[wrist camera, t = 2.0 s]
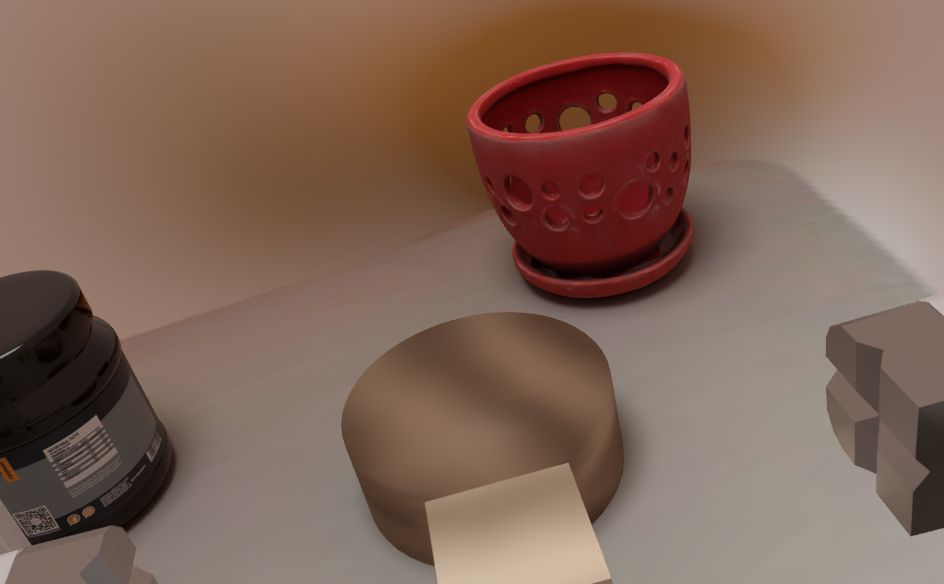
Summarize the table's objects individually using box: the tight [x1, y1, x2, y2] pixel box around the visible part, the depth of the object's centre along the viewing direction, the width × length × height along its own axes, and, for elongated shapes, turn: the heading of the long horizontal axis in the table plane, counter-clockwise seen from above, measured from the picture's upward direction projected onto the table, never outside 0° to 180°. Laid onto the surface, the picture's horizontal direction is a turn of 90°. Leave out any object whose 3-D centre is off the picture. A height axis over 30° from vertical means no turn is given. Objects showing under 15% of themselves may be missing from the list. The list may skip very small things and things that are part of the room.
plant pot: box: [467, 53, 693, 298], centre depth 56 cm, size 13×13×12 cm
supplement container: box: [0, 270, 171, 545], centre depth 47 cm, size 10×10×12 cm
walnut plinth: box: [341, 312, 624, 566], centre depth 44 cm, size 13×13×5 cm
